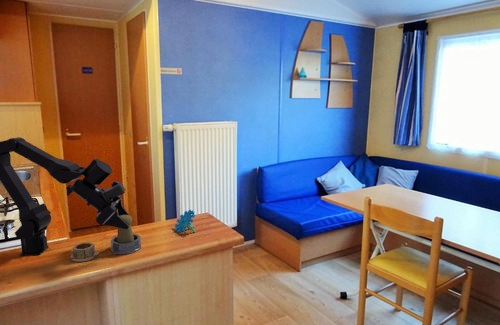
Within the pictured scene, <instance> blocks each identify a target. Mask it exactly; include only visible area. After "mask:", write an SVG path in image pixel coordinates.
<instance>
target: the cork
mask: <svg viewBox="0 0 500 325" xmlns="http://www.w3.org/2000/svg"><path fill="white" fill-rule="evenodd" d="M120 217H121V218H122V219H123V220H124V221H125V223H126V224H127V225H128V226H129V228H128V229H123V228H118V227H117V235H116V236H117V243H128V242H132V241H134V237H133V234H134V233H133V228H132V223H133V217H132V216H131V215H130V214H129V215H121V216H120Z"/></svg>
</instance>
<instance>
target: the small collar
mask: <svg viewBox="0 0 500 325" xmlns="http://www.w3.org/2000/svg"><path fill="white" fill-rule="evenodd" d="M98 255H99V252H98V251H97V250H96V248H95V243H93V242H88V241H87V242H80V243H78V244H75V245H73V246H72V254H71V256H70V261H71V262H74V263H84V262H90V261H92V260H95V259H96V258H97V257H98Z"/></svg>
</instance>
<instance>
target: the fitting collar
mask: <svg viewBox="0 0 500 325" xmlns="http://www.w3.org/2000/svg"><path fill="white" fill-rule="evenodd" d="M133 237H134V241H132V242H128V243H117V235H116V236H113V237H112V238H111V239H110V248H111V249H110V251H111V253H112V254H114V255H118V256H119V255H120V256H121V255H124V256H125V255H130V254H134V253H137V252H138V251H140V250H141V249H142V239H141V238H142V237H141V236H140V235H139V234H137V233H133ZM136 251H137V252H136Z"/></svg>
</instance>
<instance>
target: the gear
mask: <svg viewBox="0 0 500 325" xmlns="http://www.w3.org/2000/svg"><path fill="white" fill-rule="evenodd" d="M179 217H180V219H179V218H177V220H176V223H175V225H174V228H175V229H174V230H175V231H176V232H178V233H181V232H185V231H186V229H188V230H189V231H192V232H194V233H197V230H195V229H194V228H195V226H194V225H193V223H194V219H195V218H196V214H195V211H194V210H191V209H188V210H185V211H184V213H183V214H180V215H179Z"/></svg>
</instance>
